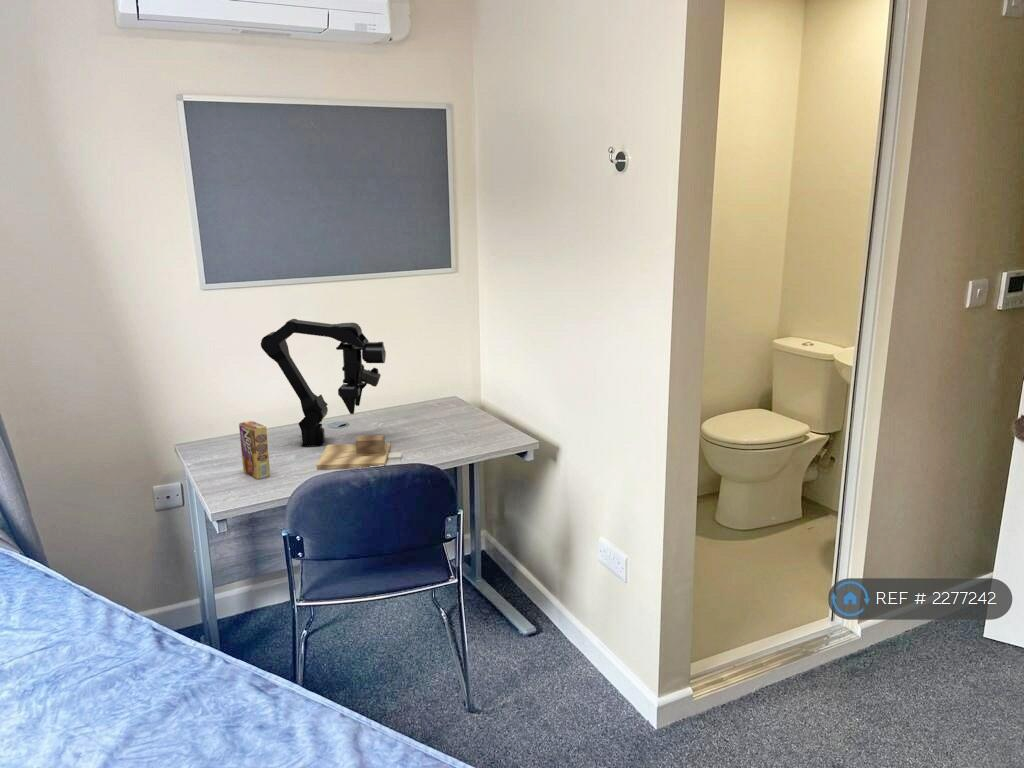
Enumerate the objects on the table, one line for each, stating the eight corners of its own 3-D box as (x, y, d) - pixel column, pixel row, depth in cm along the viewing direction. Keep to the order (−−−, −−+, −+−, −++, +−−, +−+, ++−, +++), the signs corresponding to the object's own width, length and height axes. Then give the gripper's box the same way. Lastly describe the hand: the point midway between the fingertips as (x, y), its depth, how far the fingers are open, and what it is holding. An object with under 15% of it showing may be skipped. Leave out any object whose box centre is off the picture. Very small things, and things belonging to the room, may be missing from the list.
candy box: (271, 475, 219) (266, 426, 215) (258, 479, 216) (253, 429, 212) (256, 468, 225) (251, 419, 221) (243, 472, 222) (237, 423, 218)
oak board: (316, 469, 223) (316, 464, 223) (328, 449, 240) (327, 444, 240) (384, 467, 224) (384, 463, 224) (390, 447, 241) (390, 443, 241)
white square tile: (388, 461, 231) (387, 457, 231) (389, 456, 235) (388, 453, 234) (401, 460, 231) (401, 456, 231) (401, 456, 235) (401, 452, 235)
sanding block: (356, 456, 229) (355, 440, 228) (359, 450, 234) (358, 435, 233) (382, 455, 230) (382, 440, 228) (384, 450, 235) (383, 434, 233)
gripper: (372, 370, 230) (374, 418, 234) (382, 356, 248) (384, 401, 252) (336, 369, 229) (339, 418, 234) (348, 356, 248) (351, 401, 252)
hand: (354, 409), depth 243 cm, fingers open, 9 cm apart
